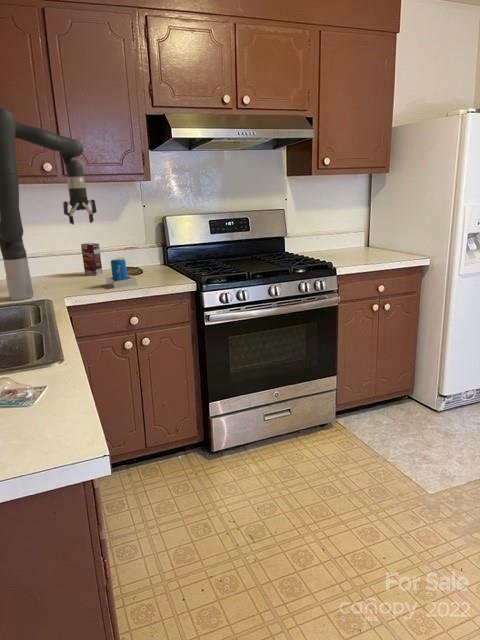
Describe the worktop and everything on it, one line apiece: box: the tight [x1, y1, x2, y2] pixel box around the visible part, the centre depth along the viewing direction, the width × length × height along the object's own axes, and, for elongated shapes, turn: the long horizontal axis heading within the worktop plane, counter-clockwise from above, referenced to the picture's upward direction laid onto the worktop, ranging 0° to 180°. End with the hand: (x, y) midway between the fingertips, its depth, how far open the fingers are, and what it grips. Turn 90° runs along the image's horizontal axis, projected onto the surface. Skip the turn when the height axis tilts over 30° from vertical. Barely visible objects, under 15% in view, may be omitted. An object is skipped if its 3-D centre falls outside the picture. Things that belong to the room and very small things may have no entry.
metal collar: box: [105, 274, 138, 289], centre depth 219 cm, size 10×10×3 cm
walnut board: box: [99, 284, 114, 291], centre depth 219 cm, size 15×10×1 cm, turn 124°
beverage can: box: [110, 257, 128, 281], centre depth 218 cm, size 6×6×12 cm
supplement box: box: [80, 242, 103, 276], centre depth 248 cm, size 9×5×16 cm, turn 60°
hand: (82, 223), depth 221 cm, fingers open, 8 cm apart
